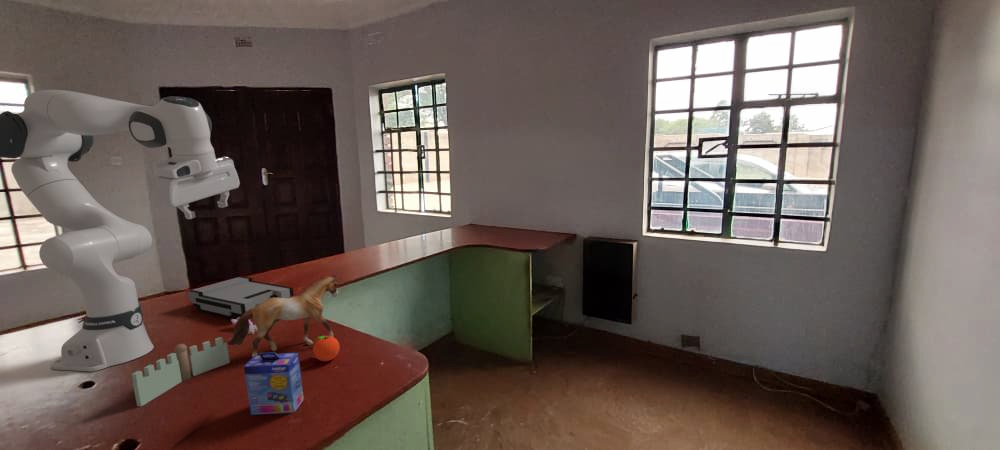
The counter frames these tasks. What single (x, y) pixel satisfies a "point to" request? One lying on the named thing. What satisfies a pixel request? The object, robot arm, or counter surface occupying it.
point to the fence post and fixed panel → (201, 358)
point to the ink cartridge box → (274, 383)
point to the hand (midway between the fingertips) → (207, 212)
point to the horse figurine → (286, 312)
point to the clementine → (326, 348)
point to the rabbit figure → (252, 327)
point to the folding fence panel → (156, 379)
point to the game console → (235, 296)
